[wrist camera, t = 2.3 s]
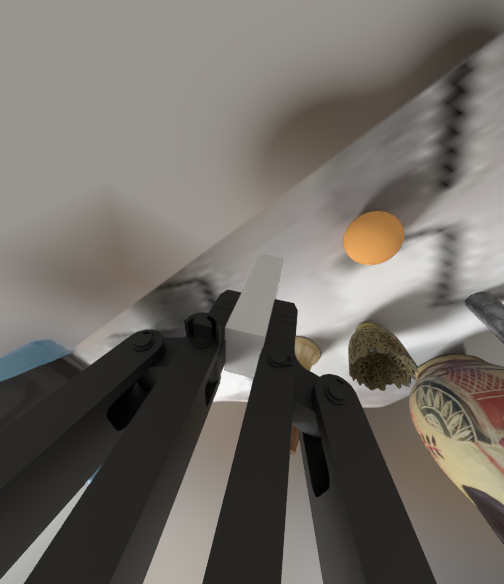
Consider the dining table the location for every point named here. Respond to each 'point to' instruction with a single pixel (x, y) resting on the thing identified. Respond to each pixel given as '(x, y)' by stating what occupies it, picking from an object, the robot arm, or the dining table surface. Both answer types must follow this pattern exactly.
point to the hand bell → (307, 358)
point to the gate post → (488, 312)
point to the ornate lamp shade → (379, 358)
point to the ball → (373, 238)
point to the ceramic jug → (465, 427)
